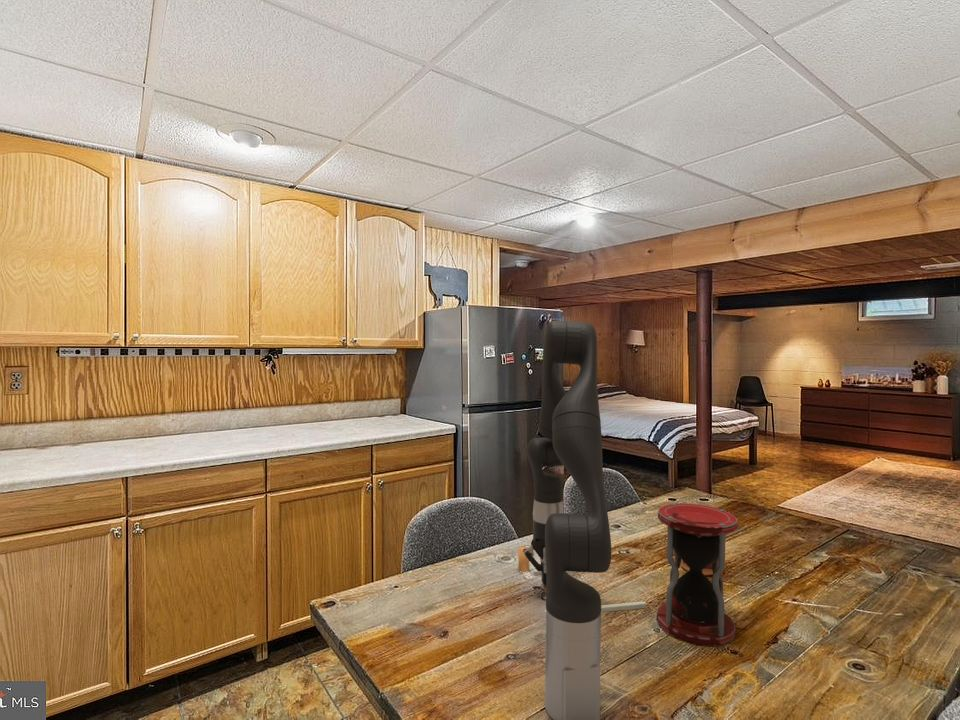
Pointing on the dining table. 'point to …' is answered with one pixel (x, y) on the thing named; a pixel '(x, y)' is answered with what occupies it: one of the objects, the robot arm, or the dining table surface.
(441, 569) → the dining table surface
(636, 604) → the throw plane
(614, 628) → the dining table surface
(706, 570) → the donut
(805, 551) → the dining table surface
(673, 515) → the hourglass
